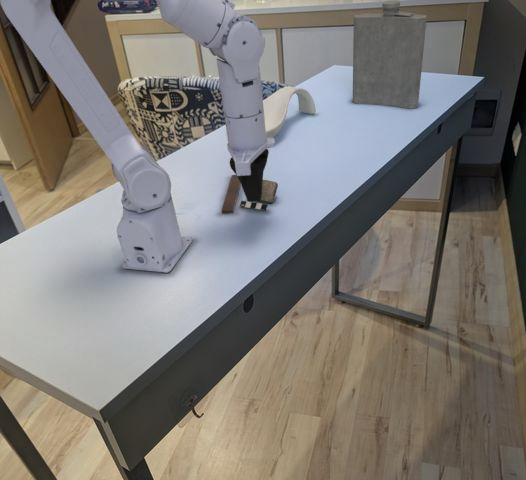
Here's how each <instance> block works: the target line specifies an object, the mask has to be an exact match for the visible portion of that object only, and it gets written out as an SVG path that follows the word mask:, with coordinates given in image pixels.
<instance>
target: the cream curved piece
mask: <svg viewBox="0 0 526 480" xmlns="http://www.w3.org/2000/svg"><path fill="white" fill-rule="evenodd" d="M295 94H296V95H297V100H298V101H297V102H298V111H299V112H301V113H306V114H311V115H313V114H315V113H316V112H317V109H316V104H315V101H314V98H313V96H312V95H311V93H310V92H309V91H308V90H307V89H306V88H303V87H295V86H292V85H291V86H289V85H288V86H284V87H281V88H279V89H278V90H276V91H275V92H273V93H271V95H269V96H268V97H266V98H265V99H263V108H264V119H265V129H266V138H274V137H275V136H277V135H278V133H280V131H281V129H282V128H283V125H284V122H285V119H286V115H287V112H288V109H289V104H290V101H291V98H292V97H293V95H295Z"/></svg>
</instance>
